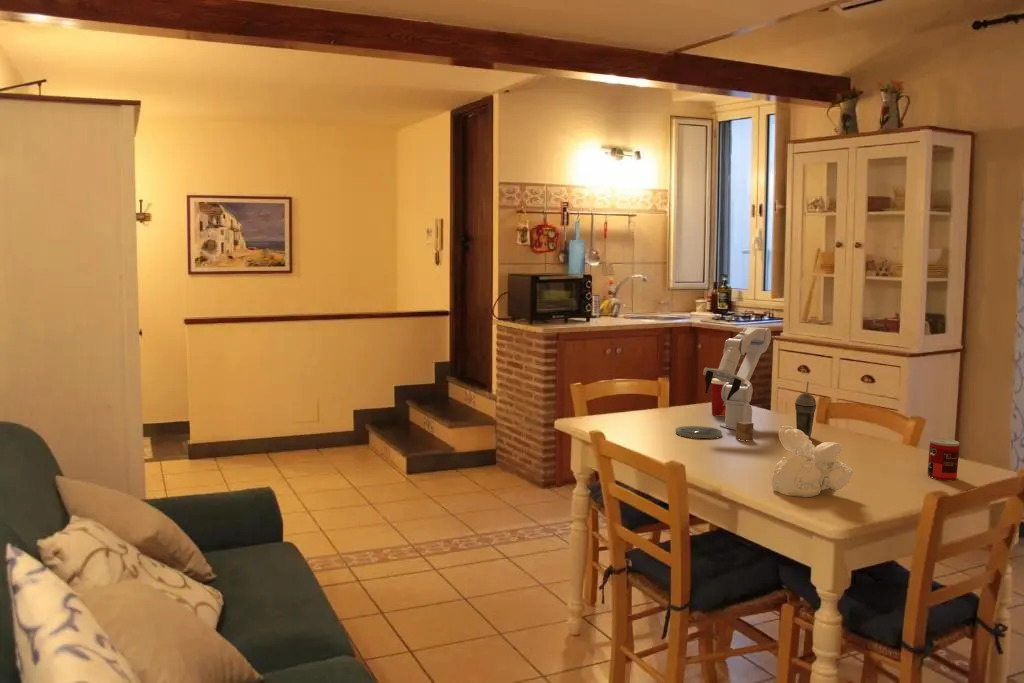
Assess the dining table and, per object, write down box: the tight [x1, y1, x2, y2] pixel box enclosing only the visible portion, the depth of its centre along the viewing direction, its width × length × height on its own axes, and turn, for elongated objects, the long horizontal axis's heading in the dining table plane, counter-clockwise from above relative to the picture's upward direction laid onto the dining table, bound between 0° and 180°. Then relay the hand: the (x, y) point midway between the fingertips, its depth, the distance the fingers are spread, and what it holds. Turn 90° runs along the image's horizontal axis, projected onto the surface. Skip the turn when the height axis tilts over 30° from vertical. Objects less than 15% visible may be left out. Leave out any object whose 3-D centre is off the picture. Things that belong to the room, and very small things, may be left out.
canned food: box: [927, 437, 960, 481], centre depth 269 cm, size 8×8×11 cm
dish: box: [675, 425, 723, 439], centre depth 321 cm, size 16×16×1 cm
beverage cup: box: [794, 381, 817, 439], centre depth 318 cm, size 7×7×20 cm
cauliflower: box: [771, 424, 854, 498], centre depth 251 cm, size 19×20×20 cm
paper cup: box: [710, 377, 727, 416], centre depth 356 cm, size 8×8×14 cm
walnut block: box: [735, 421, 755, 442], centre depth 313 cm, size 4×4×6 cm
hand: (717, 395), depth 313 cm, fingers open, 7 cm apart
